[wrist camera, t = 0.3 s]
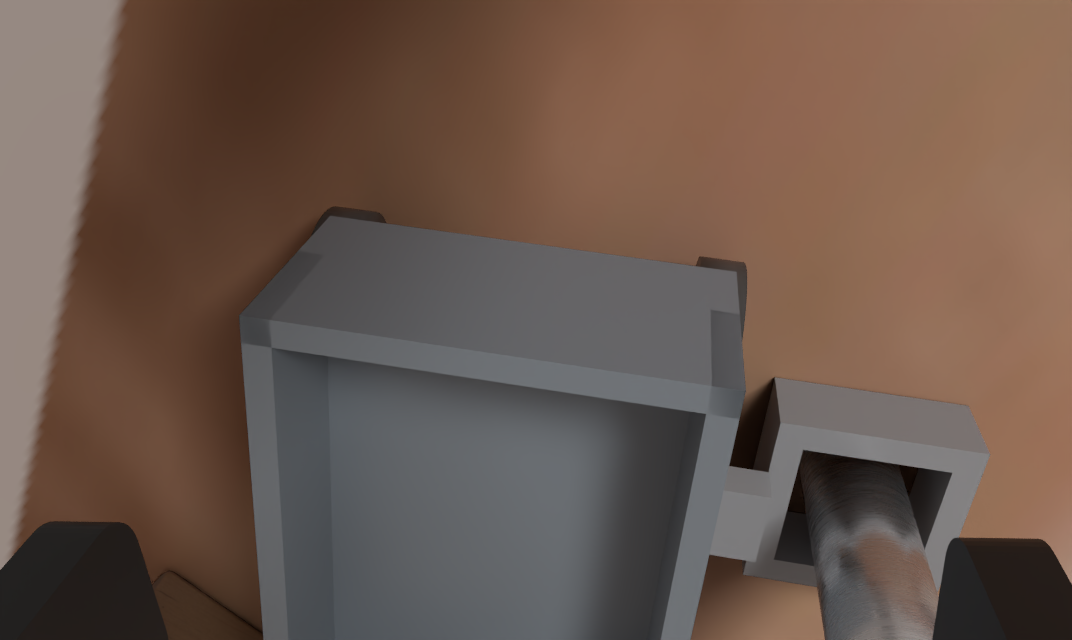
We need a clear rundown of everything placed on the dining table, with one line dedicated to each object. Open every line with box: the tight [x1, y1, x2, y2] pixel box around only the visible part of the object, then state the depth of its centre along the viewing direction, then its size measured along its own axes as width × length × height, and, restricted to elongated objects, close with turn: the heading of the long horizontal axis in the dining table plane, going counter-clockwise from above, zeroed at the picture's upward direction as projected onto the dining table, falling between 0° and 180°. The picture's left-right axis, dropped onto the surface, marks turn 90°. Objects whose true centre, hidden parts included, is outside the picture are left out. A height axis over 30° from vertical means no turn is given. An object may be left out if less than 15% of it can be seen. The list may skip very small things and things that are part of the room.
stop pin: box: [800, 450, 939, 640], centre depth 25 cm, size 4×4×12 cm
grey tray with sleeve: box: [239, 207, 990, 640], centre depth 27 cm, size 15×19×9 cm
